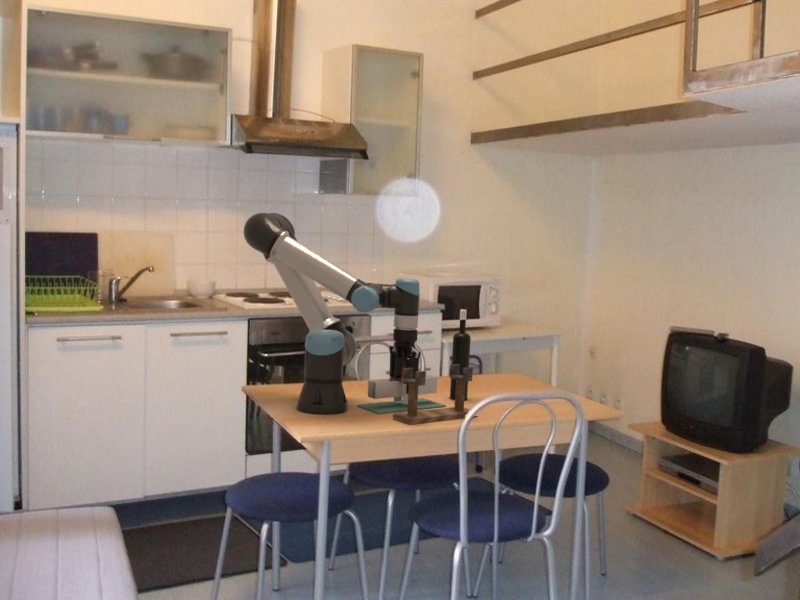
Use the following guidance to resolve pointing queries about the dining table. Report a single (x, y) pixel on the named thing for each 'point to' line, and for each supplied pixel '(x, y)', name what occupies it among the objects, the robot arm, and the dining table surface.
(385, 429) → the dining table surface
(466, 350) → the wine bottle
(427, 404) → the mat
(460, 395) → the hook stand
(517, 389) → the dining table surface
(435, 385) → the rail
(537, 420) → the dining table surface
